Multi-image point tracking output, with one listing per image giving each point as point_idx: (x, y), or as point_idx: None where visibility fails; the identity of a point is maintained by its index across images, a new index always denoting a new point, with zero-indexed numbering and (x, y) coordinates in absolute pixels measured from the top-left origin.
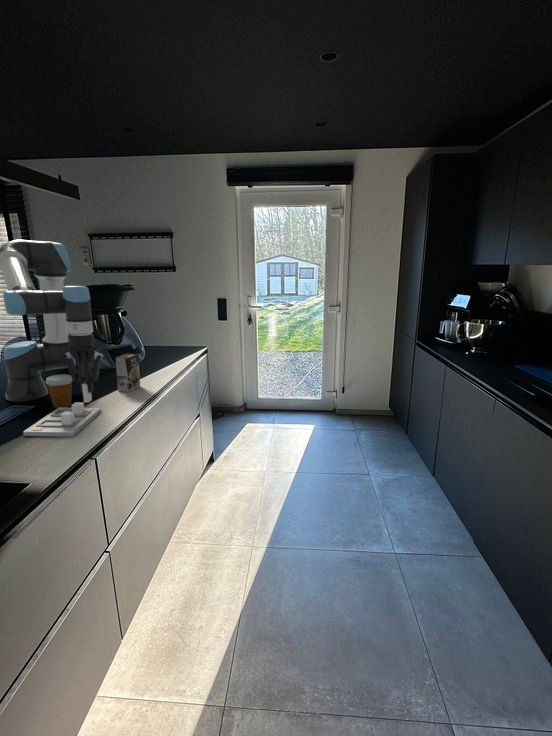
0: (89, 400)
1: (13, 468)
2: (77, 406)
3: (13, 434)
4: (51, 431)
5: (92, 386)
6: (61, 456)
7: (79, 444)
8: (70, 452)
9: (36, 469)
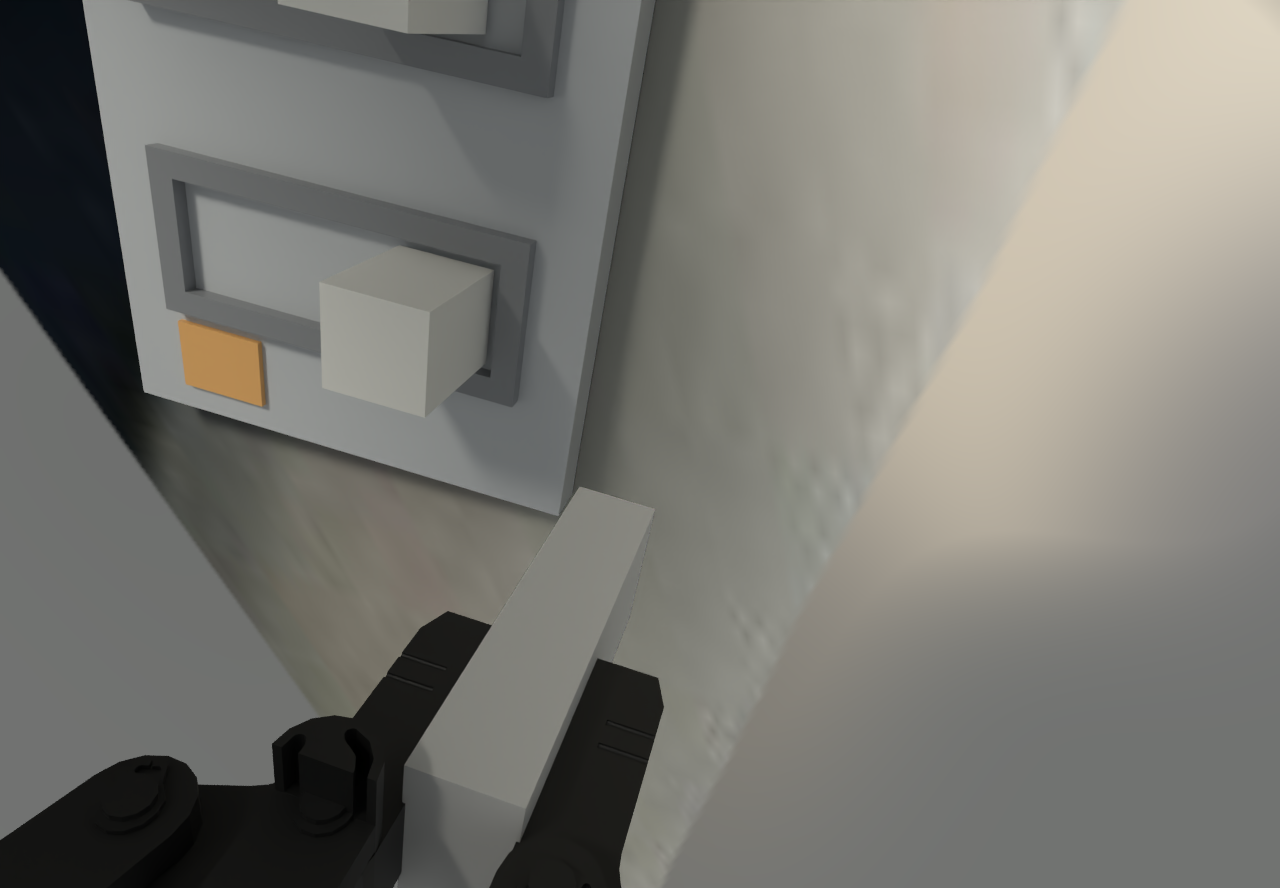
0: (632, 596)
1: None
2: (380, 24)
3: (82, 328)
4: (369, 448)
5: (633, 805)
6: None
7: (671, 644)
8: None
9: None
